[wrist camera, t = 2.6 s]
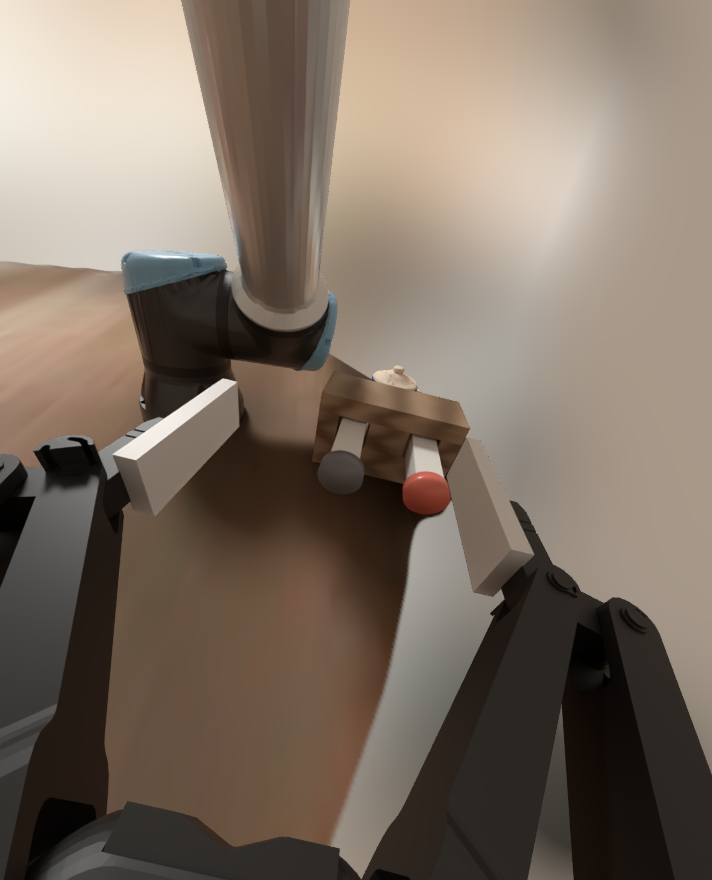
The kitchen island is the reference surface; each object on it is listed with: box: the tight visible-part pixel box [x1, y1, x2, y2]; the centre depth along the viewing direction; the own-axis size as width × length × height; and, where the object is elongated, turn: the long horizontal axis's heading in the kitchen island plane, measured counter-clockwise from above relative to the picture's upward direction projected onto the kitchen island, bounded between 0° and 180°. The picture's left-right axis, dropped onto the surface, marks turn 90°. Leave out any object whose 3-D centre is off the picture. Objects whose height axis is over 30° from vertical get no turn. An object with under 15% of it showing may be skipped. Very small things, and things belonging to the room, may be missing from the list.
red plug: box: [403, 433, 451, 514], centre depth 36 cm, size 5×13×5 cm, turn 173°
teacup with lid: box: [372, 366, 422, 393], centre depth 56 cm, size 12×9×12 cm
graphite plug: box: [317, 417, 367, 494], centre depth 36 cm, size 5×13×5 cm, turn 173°
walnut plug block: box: [312, 372, 470, 484], centre depth 43 cm, size 20×8×12 cm, turn 83°
